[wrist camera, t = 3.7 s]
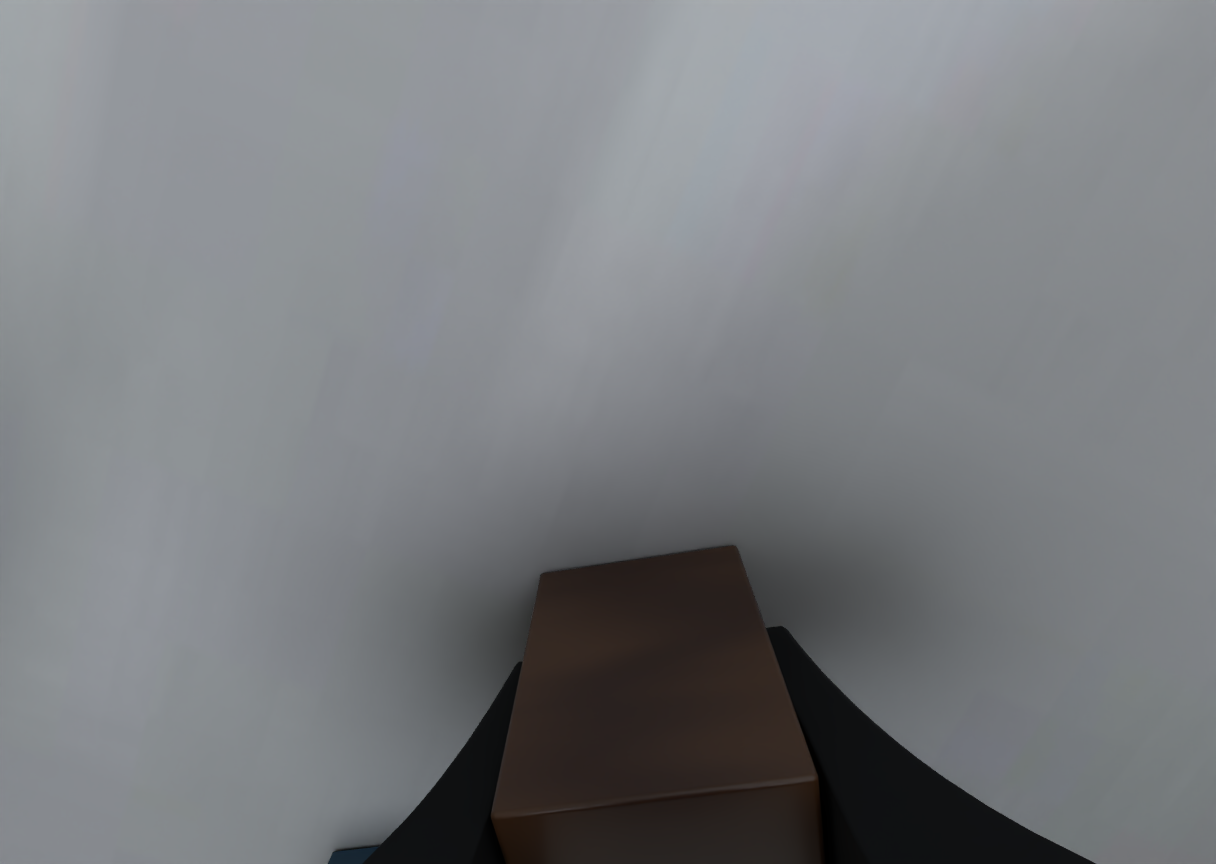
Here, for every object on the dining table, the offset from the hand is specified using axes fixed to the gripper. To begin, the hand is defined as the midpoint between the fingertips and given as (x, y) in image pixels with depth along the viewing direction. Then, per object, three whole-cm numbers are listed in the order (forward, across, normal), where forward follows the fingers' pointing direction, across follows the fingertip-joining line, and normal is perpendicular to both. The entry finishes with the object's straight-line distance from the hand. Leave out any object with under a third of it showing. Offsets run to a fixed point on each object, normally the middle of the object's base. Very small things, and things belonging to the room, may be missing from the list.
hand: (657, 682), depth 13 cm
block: (+1, 0, 0) cm, 1 cm away
